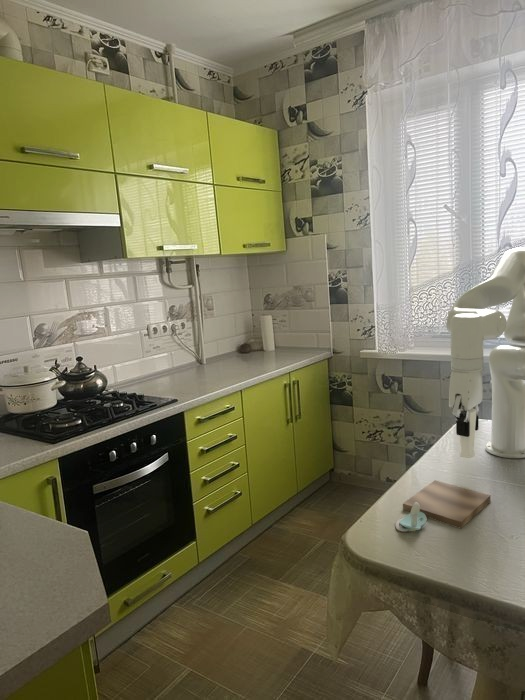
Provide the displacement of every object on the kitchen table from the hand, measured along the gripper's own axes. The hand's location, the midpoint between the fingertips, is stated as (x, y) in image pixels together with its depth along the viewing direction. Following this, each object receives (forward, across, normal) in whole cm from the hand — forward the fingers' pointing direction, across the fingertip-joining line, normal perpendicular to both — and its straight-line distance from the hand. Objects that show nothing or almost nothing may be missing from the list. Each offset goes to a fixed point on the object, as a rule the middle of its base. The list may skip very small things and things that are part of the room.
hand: (467, 431), depth 131 cm
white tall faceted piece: (+7, 0, 0) cm, 7 cm away
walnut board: (+13, +16, +2) cm, 21 cm away
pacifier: (+13, +30, 0) cm, 33 cm away
